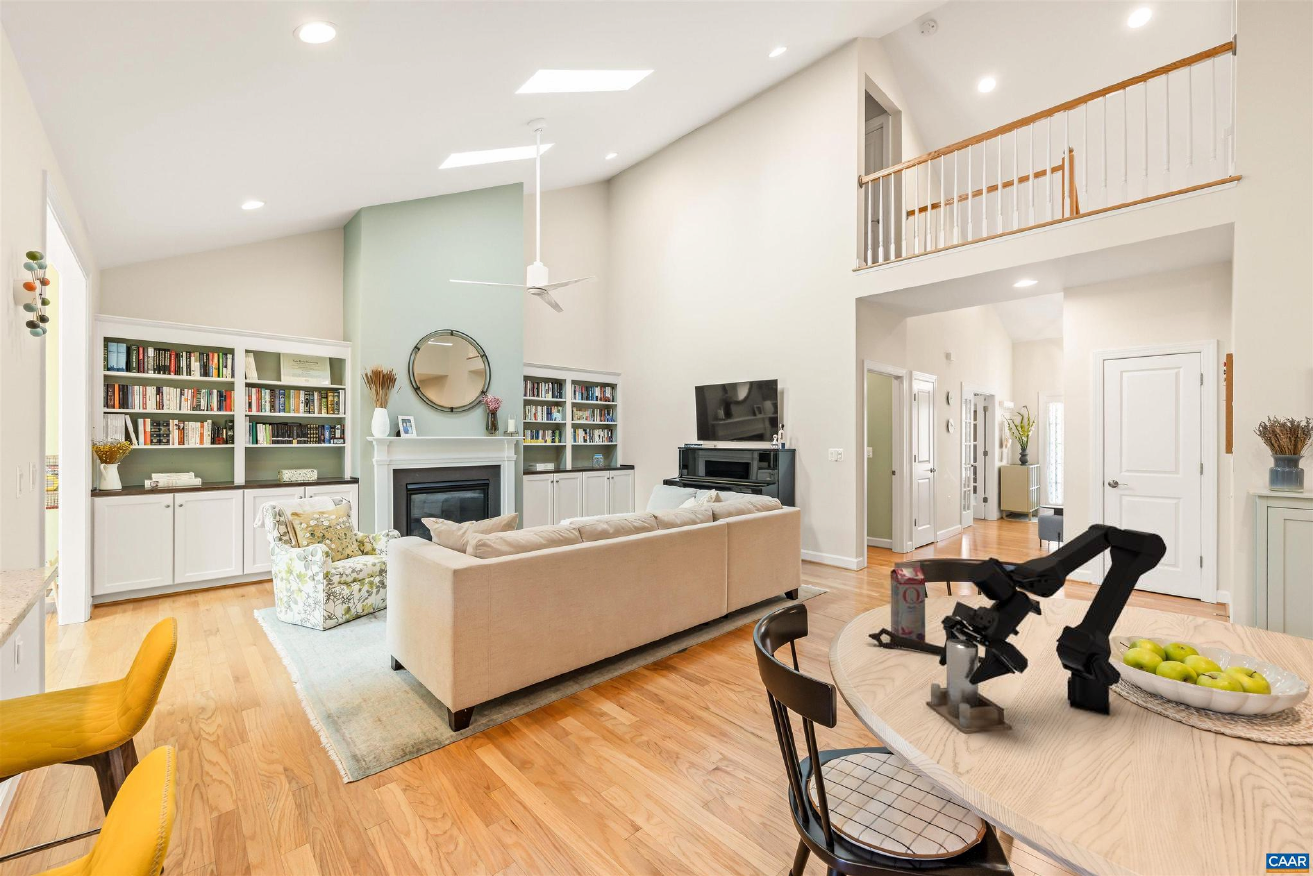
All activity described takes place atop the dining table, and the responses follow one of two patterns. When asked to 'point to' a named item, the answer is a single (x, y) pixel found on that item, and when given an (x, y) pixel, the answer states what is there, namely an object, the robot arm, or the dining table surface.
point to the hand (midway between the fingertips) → (954, 673)
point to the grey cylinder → (961, 675)
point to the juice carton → (908, 601)
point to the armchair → (969, 713)
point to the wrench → (908, 643)
